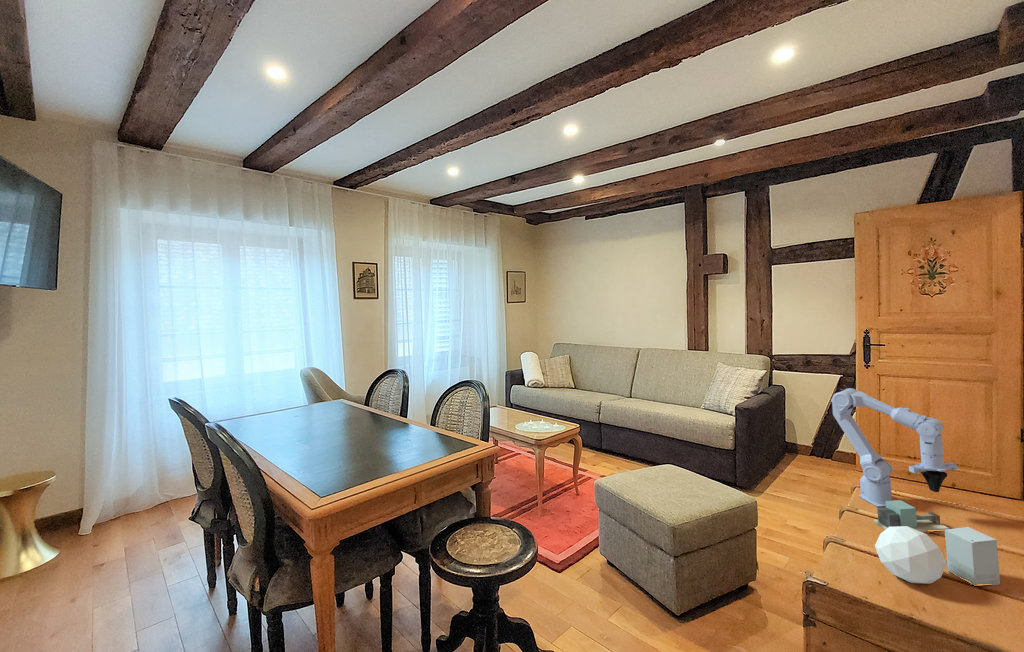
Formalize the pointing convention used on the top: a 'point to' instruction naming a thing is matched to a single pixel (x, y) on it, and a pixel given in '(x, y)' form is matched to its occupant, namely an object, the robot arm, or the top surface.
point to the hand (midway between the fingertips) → (934, 490)
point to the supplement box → (972, 556)
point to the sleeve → (903, 512)
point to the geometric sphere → (910, 555)
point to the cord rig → (923, 524)
